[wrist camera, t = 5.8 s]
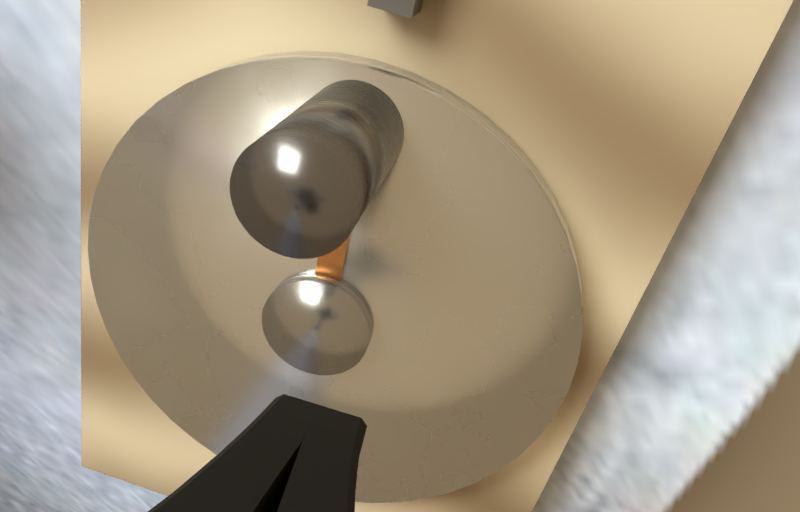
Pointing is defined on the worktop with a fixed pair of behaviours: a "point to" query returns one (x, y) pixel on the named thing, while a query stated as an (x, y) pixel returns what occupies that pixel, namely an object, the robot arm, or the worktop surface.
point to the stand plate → (497, 99)
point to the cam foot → (339, 266)
